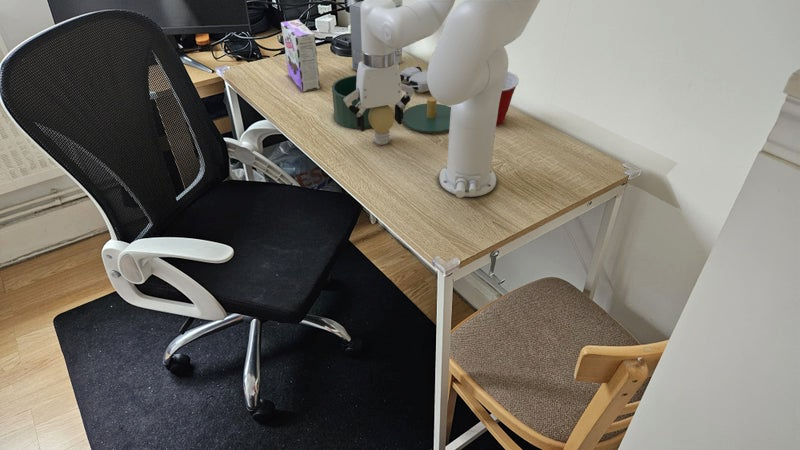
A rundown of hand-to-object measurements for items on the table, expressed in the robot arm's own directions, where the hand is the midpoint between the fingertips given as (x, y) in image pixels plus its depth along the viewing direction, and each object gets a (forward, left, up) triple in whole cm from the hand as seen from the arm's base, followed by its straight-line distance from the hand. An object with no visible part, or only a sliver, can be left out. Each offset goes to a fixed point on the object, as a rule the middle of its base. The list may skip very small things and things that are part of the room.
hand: (379, 125), depth 126 cm
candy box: (+32, +29, -5) cm, 43 cm away
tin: (+13, +7, -5) cm, 15 cm away
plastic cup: (+15, -28, -5) cm, 32 cm away
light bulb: (0, -1, -5) cm, 5 cm away
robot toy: (+34, -6, -5) cm, 34 cm away
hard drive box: (+47, +9, -5) cm, 48 cm away
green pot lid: (+13, -11, -4) cm, 18 cm away
